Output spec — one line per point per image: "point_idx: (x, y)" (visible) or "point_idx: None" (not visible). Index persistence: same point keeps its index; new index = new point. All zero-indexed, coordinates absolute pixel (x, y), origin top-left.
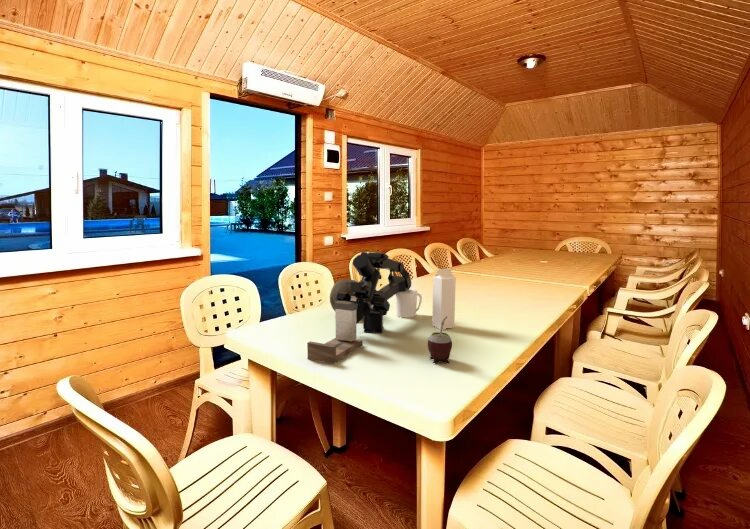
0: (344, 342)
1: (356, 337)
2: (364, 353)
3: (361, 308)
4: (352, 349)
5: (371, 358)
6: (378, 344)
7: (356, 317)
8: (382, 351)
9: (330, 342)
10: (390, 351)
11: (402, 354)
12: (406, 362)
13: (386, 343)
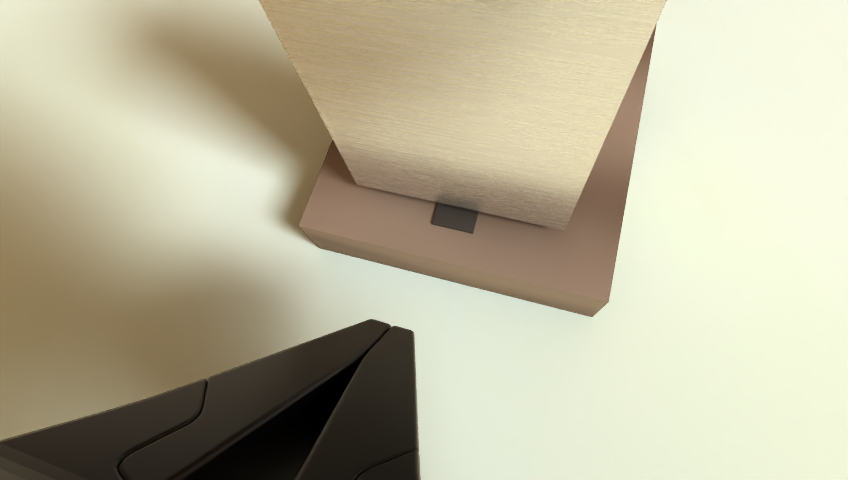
0: None
1: (353, 177)
2: (284, 83)
3: (34, 469)
4: None
5: (227, 13)
6: (174, 317)
7: (327, 356)
8: (146, 153)
9: None
10: (84, 166)
11: (6, 128)
12: (11, 10)
13: (97, 364)
